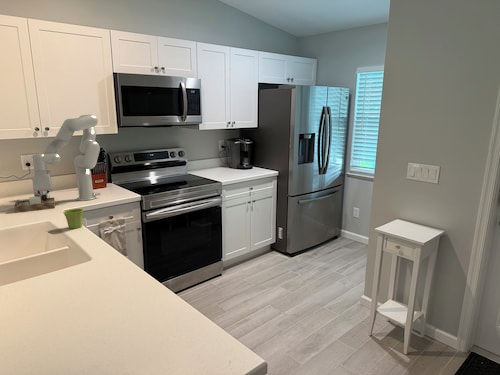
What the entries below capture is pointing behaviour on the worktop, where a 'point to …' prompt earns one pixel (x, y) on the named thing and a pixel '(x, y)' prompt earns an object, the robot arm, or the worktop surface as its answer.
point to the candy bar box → (39, 194)
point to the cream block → (35, 200)
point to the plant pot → (74, 218)
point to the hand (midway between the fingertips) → (44, 200)
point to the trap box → (34, 205)
